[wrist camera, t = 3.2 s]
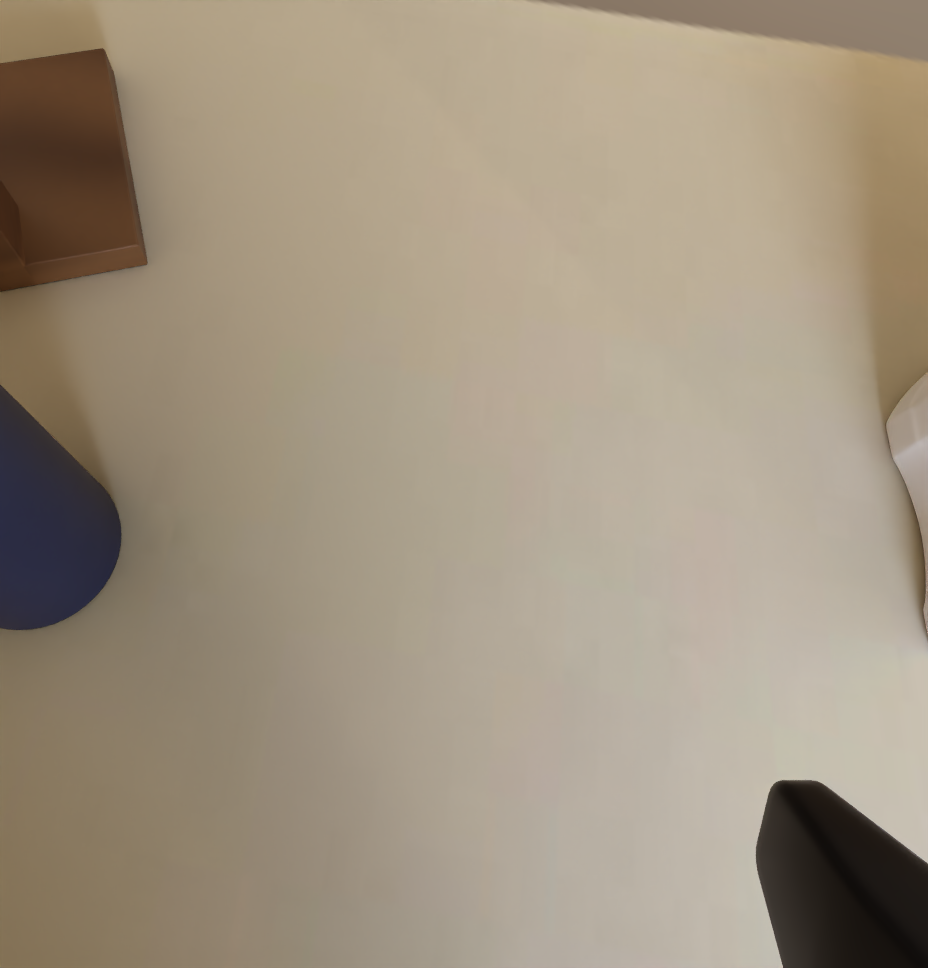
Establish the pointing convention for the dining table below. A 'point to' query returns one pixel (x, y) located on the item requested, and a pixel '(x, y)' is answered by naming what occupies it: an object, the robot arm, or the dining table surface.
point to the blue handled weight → (48, 526)
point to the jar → (913, 455)
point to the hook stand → (64, 172)
